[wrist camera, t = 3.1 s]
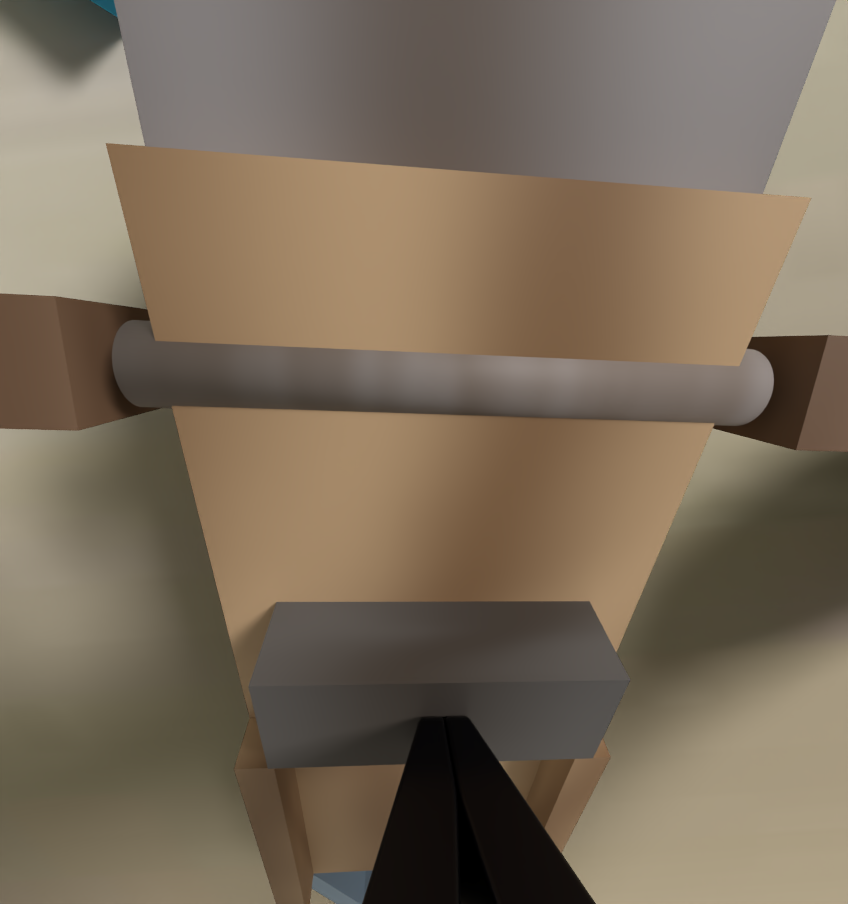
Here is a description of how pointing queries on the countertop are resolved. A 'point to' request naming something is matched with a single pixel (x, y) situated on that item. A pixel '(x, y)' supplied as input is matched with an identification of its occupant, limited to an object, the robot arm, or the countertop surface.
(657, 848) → the countertop surface
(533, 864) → the robot arm
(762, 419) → the lever stand
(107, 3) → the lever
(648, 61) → the tipping lever
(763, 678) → the countertop surface
